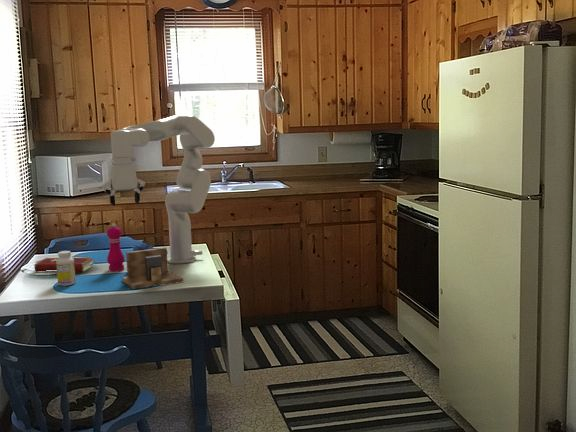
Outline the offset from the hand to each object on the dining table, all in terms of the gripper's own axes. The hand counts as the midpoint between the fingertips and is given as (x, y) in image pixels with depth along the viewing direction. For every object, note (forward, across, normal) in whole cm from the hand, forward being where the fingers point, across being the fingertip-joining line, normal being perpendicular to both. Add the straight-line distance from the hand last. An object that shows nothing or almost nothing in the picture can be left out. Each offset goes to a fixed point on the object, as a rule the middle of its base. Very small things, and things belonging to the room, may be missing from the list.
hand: (125, 204), depth 276 cm
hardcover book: (+30, +20, -30) cm, 47 cm away
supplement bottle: (+30, +25, -2) cm, 39 cm away
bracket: (+28, -5, +16) cm, 33 cm away
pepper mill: (+30, +1, -15) cm, 33 cm away
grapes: (+30, -7, -6) cm, 32 cm away
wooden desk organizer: (+30, -5, +13) cm, 33 cm away
